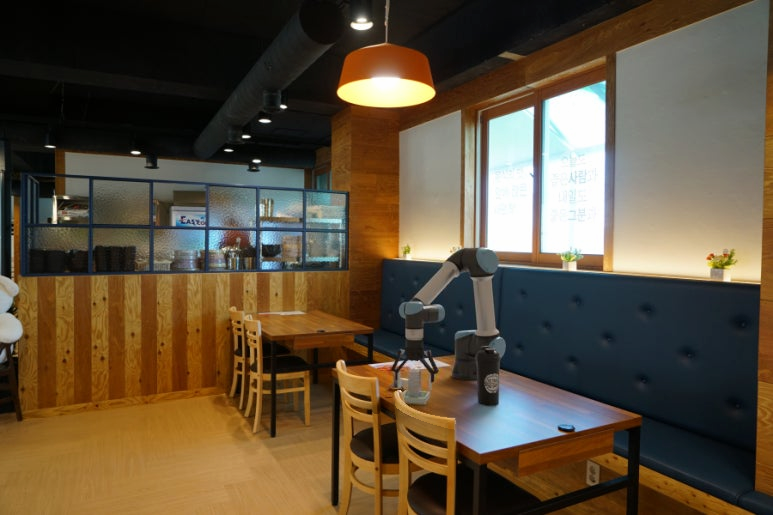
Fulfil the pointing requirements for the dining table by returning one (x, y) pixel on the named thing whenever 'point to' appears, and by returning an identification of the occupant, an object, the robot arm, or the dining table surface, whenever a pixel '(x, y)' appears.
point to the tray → (418, 401)
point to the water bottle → (488, 376)
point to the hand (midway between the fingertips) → (414, 388)
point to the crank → (403, 382)
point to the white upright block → (414, 383)
